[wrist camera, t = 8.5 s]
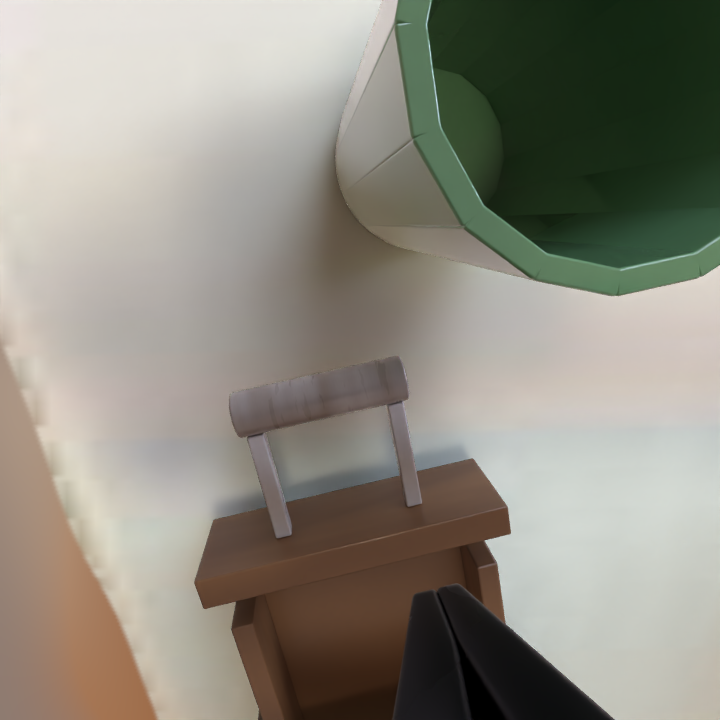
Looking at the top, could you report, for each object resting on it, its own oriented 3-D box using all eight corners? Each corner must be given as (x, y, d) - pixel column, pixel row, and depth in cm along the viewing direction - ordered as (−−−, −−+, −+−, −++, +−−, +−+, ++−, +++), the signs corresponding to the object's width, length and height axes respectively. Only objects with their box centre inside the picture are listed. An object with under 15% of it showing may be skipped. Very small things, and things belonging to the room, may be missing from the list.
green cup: (512, 230, 19) (866, 241, 7) (354, 264, 19) (442, 336, 7) (494, 47, 17) (929, -357, 5) (317, 81, 17) (349, -267, 5)
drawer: (170, 390, 18) (137, 430, 15) (454, 327, 19) (488, 351, 15) (298, 775, 24) (297, 868, 21) (511, 718, 25) (545, 800, 21)
